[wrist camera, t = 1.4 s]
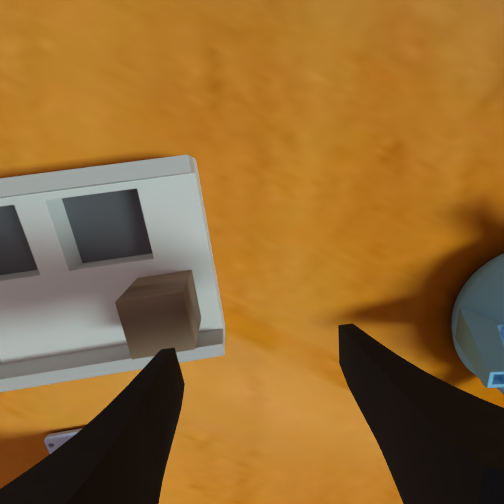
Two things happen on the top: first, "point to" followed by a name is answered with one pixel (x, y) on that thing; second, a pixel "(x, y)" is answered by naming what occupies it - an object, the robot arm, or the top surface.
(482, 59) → the top surface
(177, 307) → the walnut block
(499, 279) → the teapot
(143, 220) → the tray
